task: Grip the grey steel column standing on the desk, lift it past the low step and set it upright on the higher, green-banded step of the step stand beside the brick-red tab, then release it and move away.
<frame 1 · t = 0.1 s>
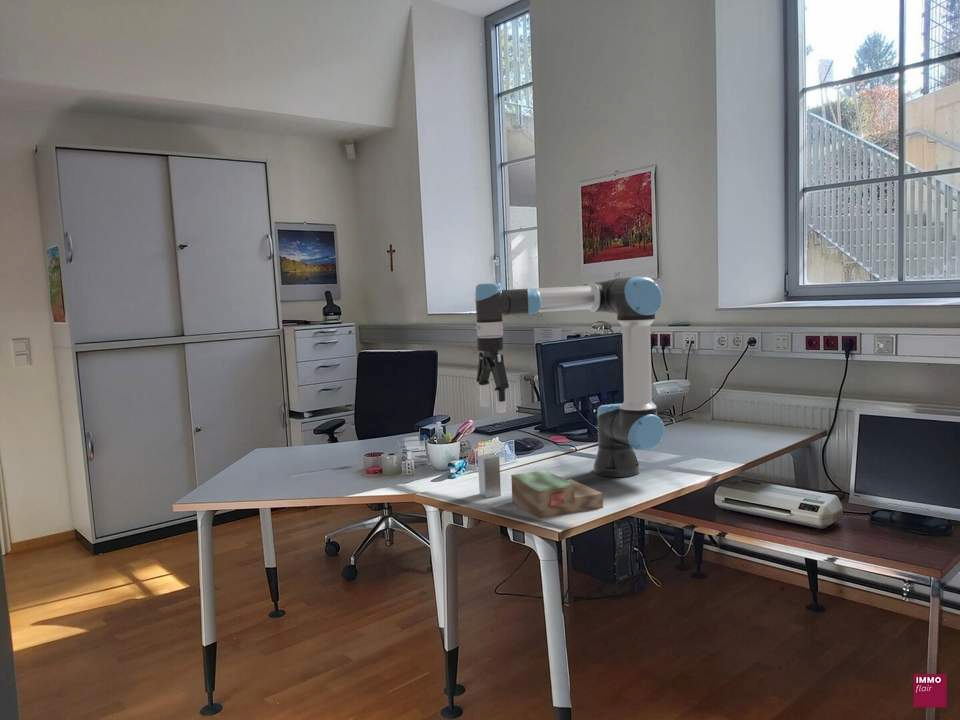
hand: (492, 409, 212), 28 cm above the table, fingers open, 13 cm apart
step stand: (556, 504, 210), on the table
steel column: (490, 494, 223), on the table
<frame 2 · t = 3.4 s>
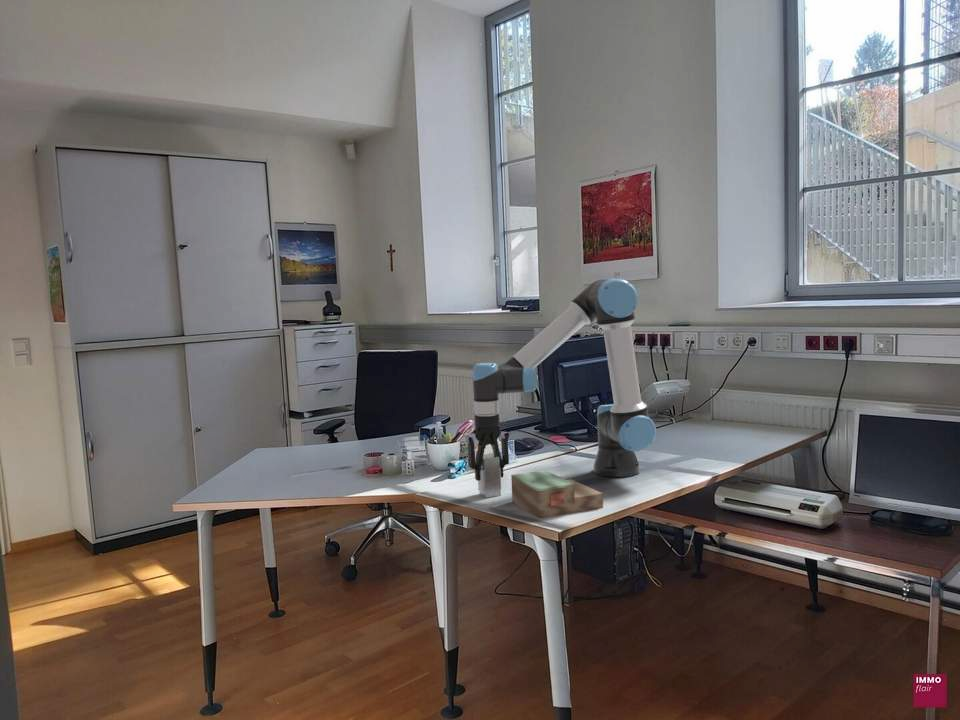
hand: (489, 489, 223), 2 cm above the table, fingers closed on steel column, 5 cm apart
steel column: (490, 494, 223), on the table, touching gripper
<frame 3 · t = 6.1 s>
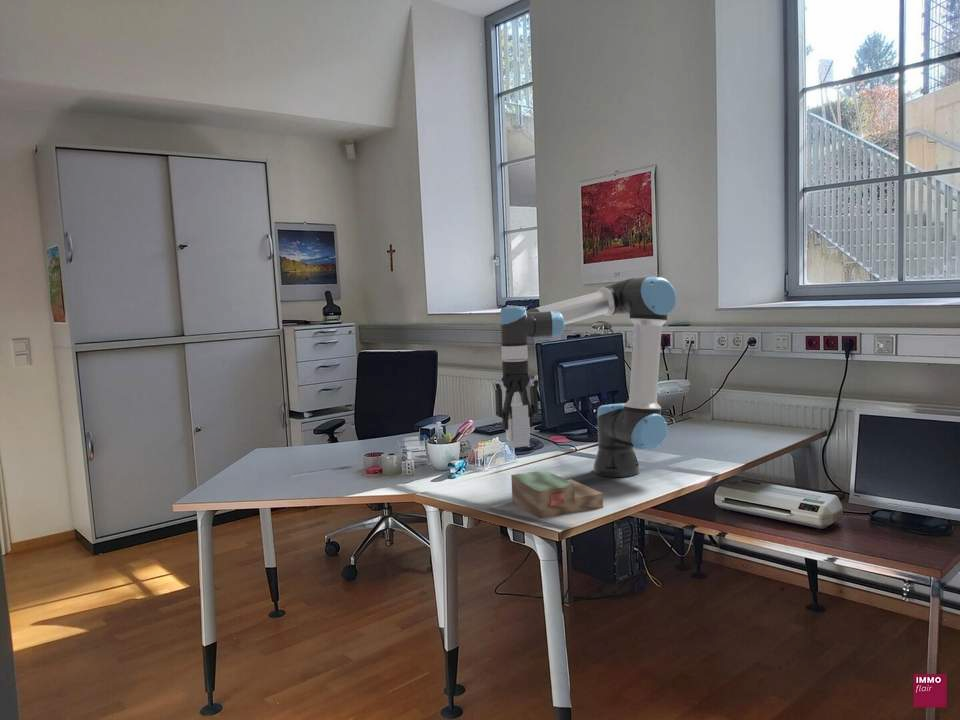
hand: (518, 439, 213), 19 cm above the table, fingers closed on steel column, 5 cm apart
steel column: (518, 445, 213), point 17 cm above the table, touching gripper
when the fingers open (11 cm above the table, at t = 9.1 s): steel column drops 1 cm, resting on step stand.
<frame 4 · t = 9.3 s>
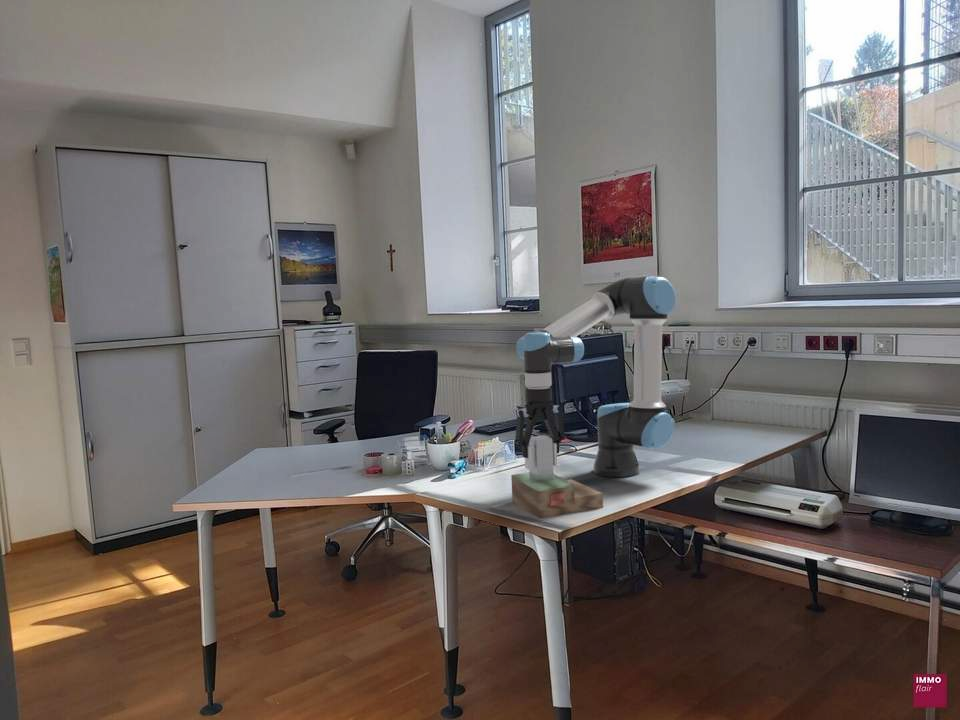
hand: (541, 466, 207), 12 cm above the table, fingers open, 7 cm apart
steel column: (541, 479, 208), point 8 cm above the table, touching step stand
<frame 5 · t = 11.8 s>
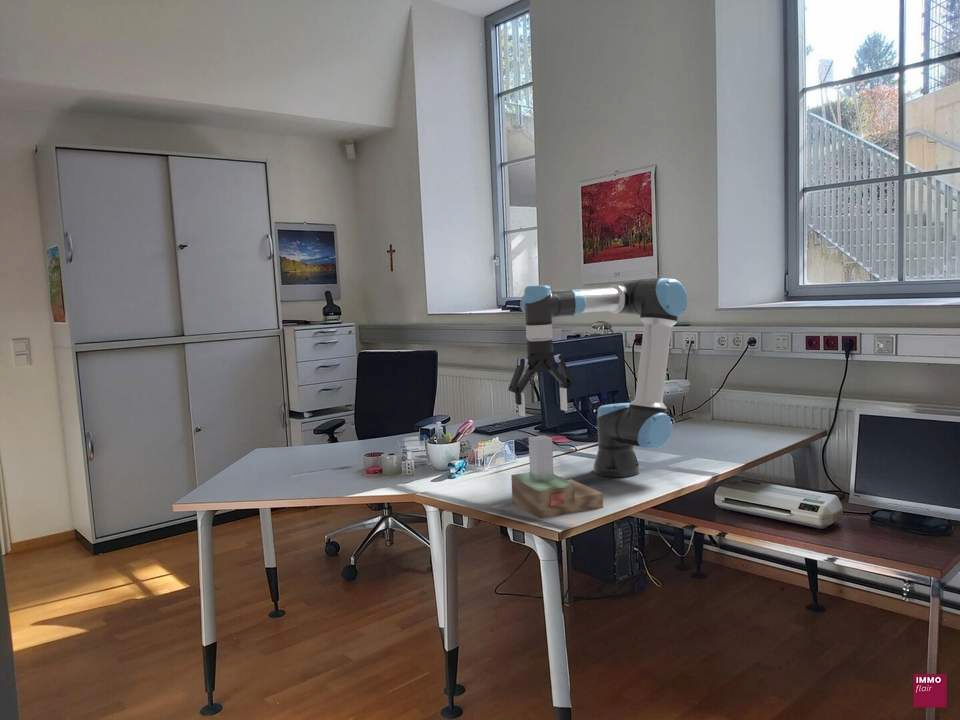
hand: (543, 413, 210), 26 cm above the table, fingers open, 13 cm apart
nothing on the table moved.
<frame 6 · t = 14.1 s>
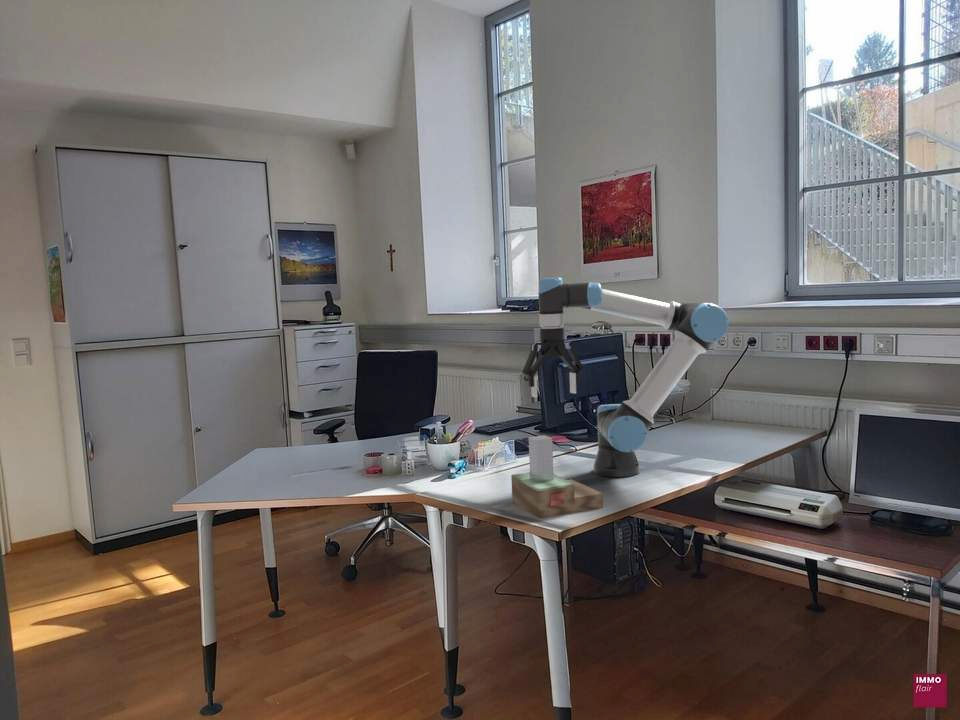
hand: (554, 395, 229), 29 cm above the table, fingers open, 13 cm apart
nothing on the table moved.
at the end: steel column inside the target area on the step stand (0.0 cm from its centre), point 8.0 cm above the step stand's base; steel column tilted 0°; the gripper is holding nothing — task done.
